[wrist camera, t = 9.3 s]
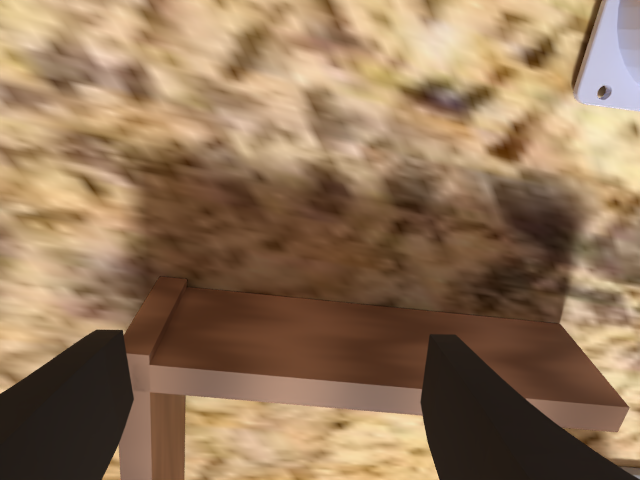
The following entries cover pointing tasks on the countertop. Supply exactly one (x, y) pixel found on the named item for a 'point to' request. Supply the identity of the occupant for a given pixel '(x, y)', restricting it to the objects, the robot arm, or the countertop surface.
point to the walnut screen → (327, 363)
